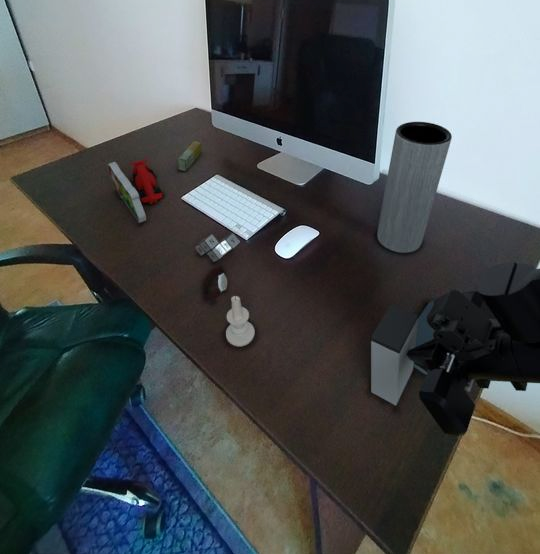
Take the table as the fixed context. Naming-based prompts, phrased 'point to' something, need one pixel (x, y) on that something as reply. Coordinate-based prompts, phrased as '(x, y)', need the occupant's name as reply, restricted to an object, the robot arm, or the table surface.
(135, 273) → the table surface
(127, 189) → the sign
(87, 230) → the table surface
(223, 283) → the watch
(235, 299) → the candle
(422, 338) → the smartphone
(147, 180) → the toy car
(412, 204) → the planter
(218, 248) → the building blocks
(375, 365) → the box with lid
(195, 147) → the medication box
